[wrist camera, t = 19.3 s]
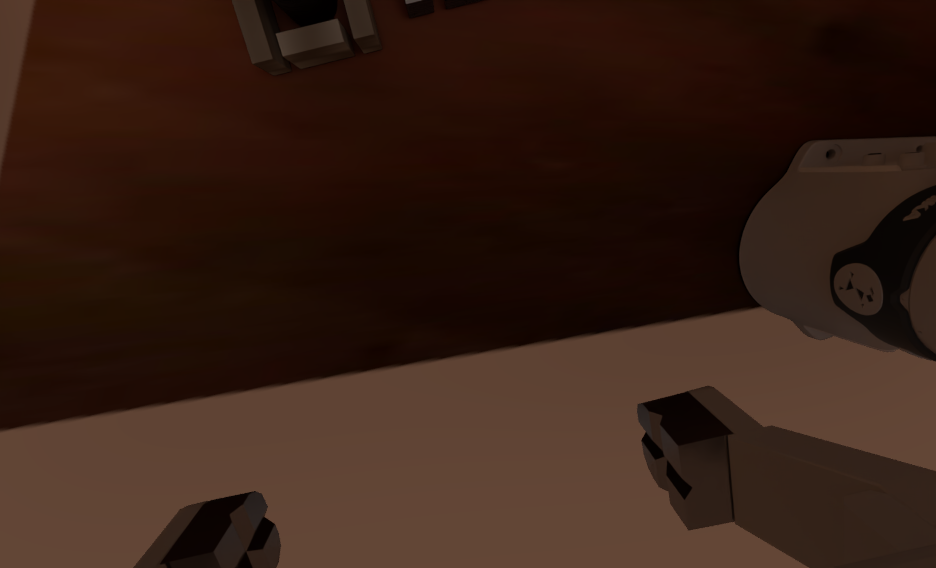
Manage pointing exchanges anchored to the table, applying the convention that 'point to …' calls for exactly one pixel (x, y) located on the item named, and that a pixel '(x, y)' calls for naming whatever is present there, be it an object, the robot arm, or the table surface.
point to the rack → (303, 36)
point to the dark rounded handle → (309, 10)
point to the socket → (431, 6)
